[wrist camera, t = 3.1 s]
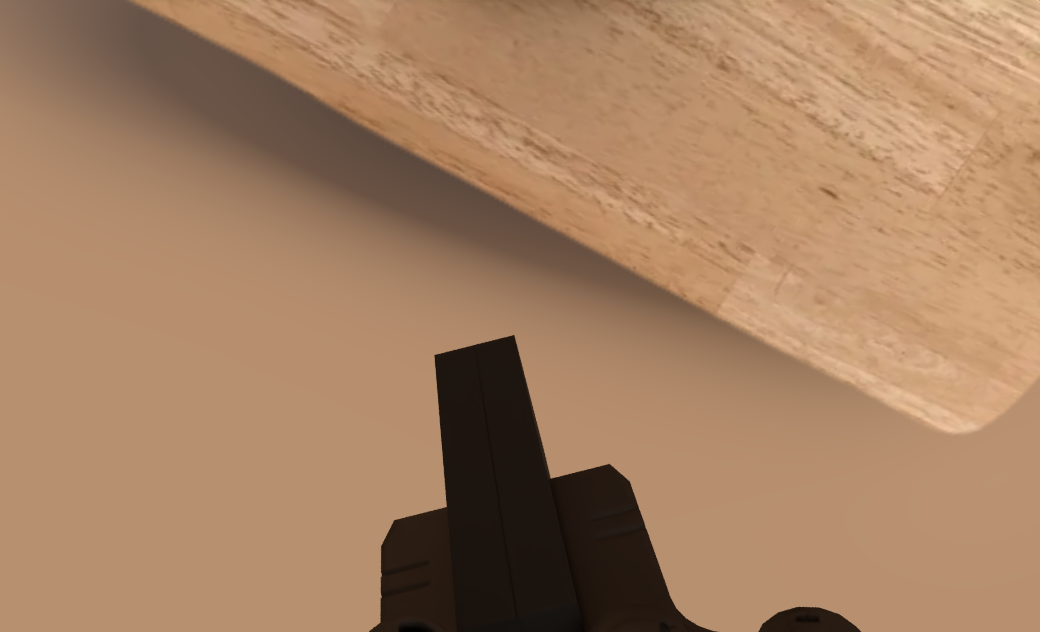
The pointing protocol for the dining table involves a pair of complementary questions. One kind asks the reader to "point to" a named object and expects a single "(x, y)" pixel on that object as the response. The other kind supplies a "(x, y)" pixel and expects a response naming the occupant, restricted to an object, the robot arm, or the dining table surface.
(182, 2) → the dining table surface
